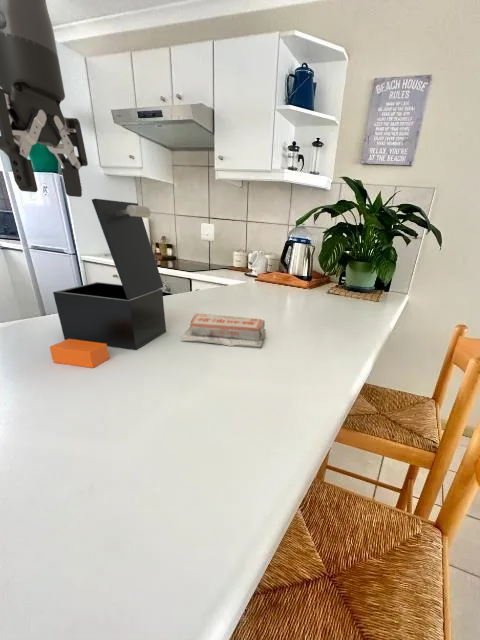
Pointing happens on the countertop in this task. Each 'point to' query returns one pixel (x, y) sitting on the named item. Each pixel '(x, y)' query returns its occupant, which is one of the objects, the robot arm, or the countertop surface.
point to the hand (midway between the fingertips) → (53, 194)
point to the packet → (79, 353)
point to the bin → (110, 315)
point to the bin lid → (129, 245)
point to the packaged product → (225, 330)
